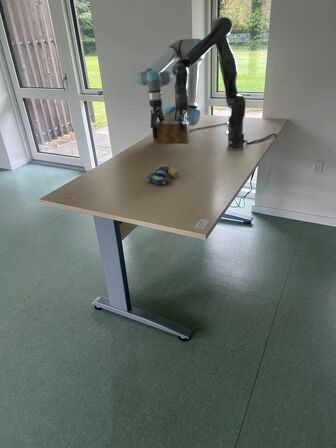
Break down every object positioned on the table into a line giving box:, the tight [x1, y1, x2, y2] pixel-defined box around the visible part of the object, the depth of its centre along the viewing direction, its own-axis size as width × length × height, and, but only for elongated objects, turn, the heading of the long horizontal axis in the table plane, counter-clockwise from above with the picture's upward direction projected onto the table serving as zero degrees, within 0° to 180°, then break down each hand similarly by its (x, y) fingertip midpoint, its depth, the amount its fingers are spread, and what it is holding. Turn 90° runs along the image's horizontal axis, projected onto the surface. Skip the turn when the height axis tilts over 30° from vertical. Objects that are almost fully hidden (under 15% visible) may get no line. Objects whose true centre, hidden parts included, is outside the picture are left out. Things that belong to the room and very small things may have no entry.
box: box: [152, 120, 191, 145], centre depth 206 cm, size 22×6×12 cm, turn 74°
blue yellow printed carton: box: [146, 164, 180, 186], centre depth 185 cm, size 21×4×15 cm
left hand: (158, 134), depth 209 cm, fingers open, 13 cm apart
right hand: (183, 129), depth 203 cm, fingers closed on box, 5 cm apart
